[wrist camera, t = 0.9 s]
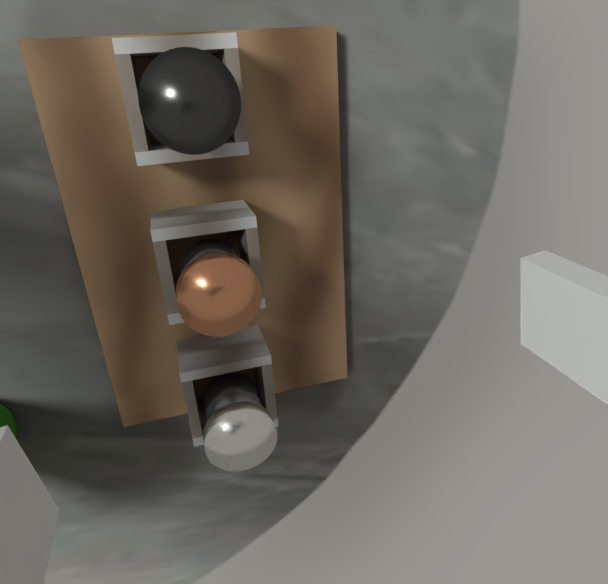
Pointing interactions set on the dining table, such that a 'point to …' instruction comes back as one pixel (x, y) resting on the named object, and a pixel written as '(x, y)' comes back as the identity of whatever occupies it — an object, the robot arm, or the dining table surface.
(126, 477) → the dining table surface
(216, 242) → the copper domed cylinder
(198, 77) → the black plunger
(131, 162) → the panel
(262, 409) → the offwhite plunger
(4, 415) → the cup
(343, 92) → the dining table surface
